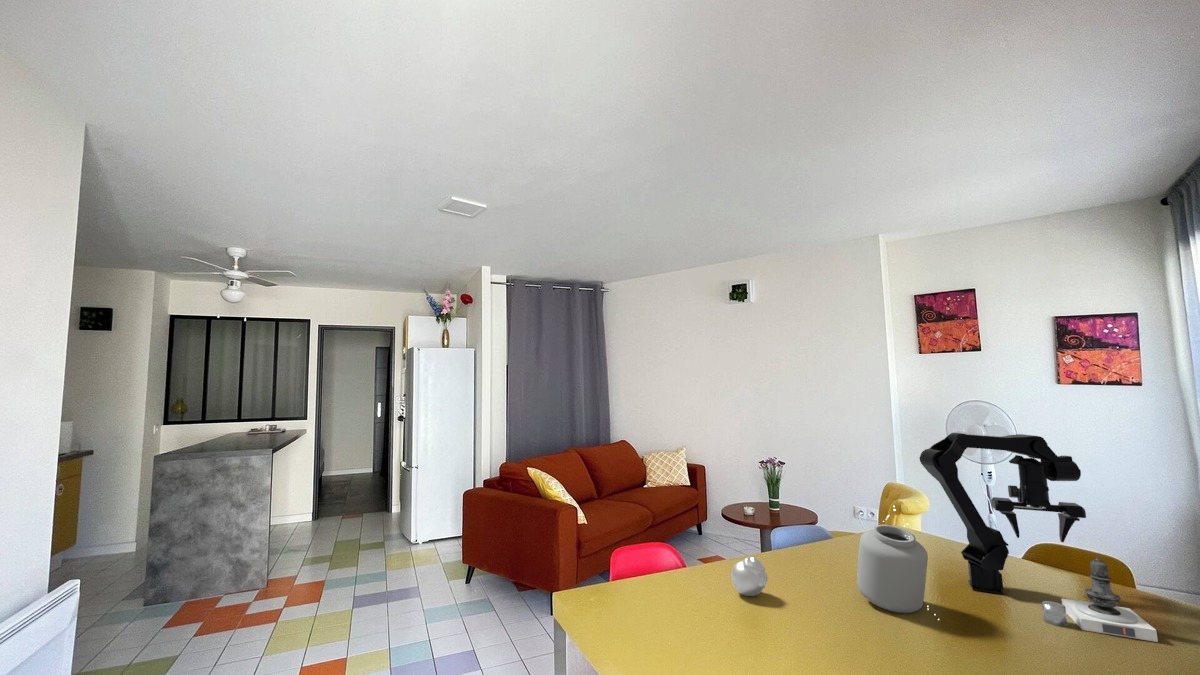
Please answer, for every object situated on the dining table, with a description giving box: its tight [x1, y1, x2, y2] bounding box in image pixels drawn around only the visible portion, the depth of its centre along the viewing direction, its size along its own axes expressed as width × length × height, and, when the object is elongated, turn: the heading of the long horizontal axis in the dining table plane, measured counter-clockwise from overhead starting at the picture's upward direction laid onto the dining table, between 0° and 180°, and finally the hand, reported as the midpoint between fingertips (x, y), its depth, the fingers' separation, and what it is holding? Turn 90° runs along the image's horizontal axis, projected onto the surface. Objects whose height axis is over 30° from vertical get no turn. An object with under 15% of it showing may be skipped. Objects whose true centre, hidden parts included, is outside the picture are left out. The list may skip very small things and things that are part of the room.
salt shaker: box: [1084, 555, 1121, 615], centre depth 113 cm, size 6×6×12 cm
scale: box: [1061, 598, 1159, 643], centre depth 112 cm, size 12×13×3 cm
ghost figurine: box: [730, 556, 769, 597], centre depth 130 cm, size 9×10×10 cm
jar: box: [856, 505, 940, 621], centre depth 123 cm, size 19×15×25 cm
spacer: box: [1041, 600, 1068, 628], centre depth 113 cm, size 4×4×4 cm
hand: (1039, 539), depth 133 cm, fingers open, 9 cm apart
